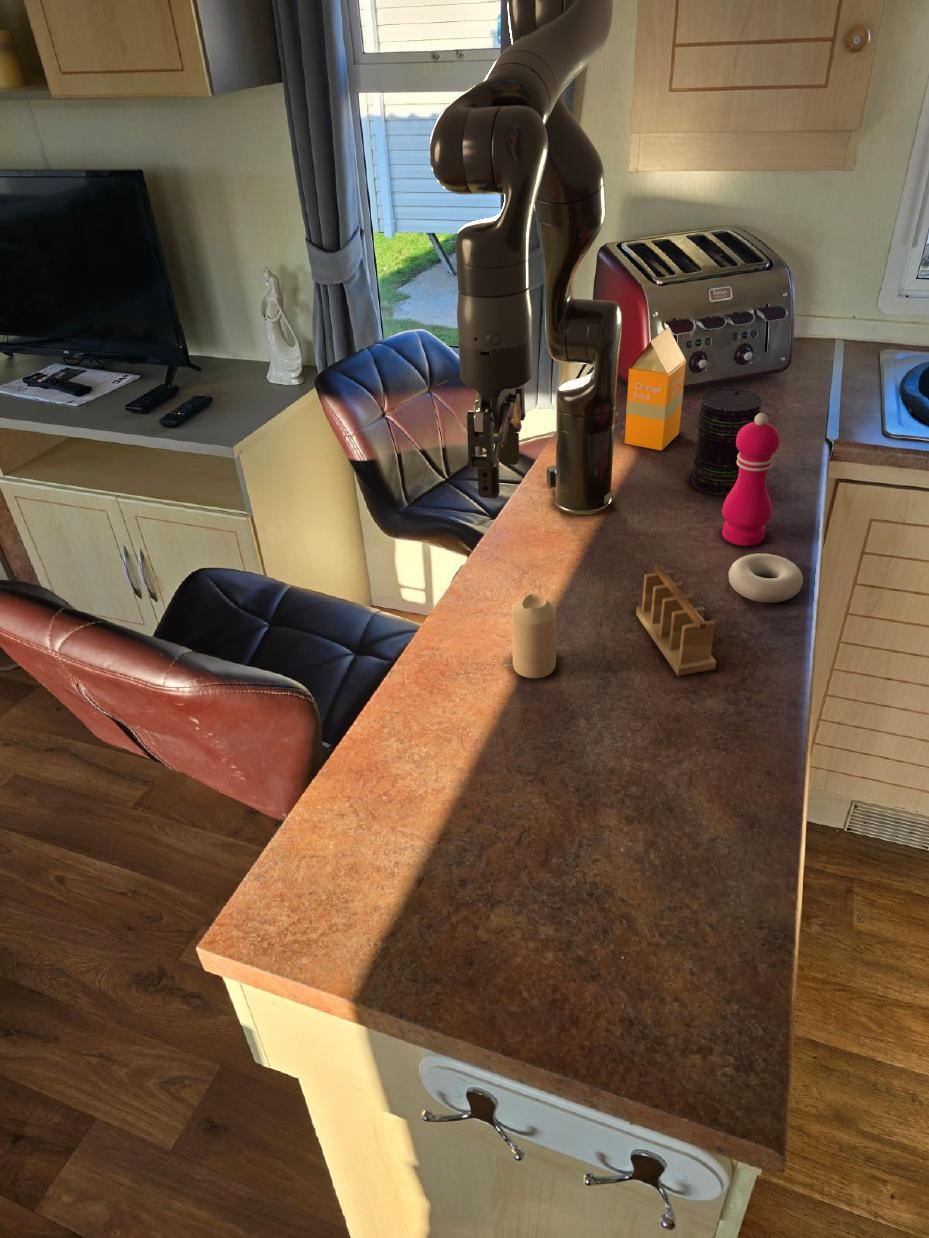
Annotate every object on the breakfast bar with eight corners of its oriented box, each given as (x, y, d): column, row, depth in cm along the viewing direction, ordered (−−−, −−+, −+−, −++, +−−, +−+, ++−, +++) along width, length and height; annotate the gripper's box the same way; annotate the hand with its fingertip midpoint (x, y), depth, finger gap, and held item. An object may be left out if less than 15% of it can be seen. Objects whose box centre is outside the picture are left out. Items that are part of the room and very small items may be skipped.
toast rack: (635, 614, 117) (639, 567, 113) (670, 608, 118) (674, 562, 113) (677, 676, 106) (683, 627, 101) (715, 669, 107) (722, 620, 102)
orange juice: (679, 433, 165) (689, 329, 154) (662, 450, 159) (671, 343, 148) (641, 426, 169) (649, 324, 157) (623, 443, 163) (629, 338, 151)
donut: (799, 613, 115) (801, 573, 123) (804, 592, 113) (806, 553, 121) (723, 602, 118) (730, 564, 126) (726, 582, 116) (733, 544, 124)
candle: (510, 654, 111) (508, 590, 105) (552, 650, 111) (552, 586, 106) (515, 680, 107) (514, 615, 101) (559, 676, 107) (560, 611, 101)
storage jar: (739, 499, 142) (752, 414, 133) (682, 488, 147) (691, 404, 138) (757, 476, 149) (770, 393, 140) (702, 465, 153) (712, 384, 145)
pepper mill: (769, 549, 129) (791, 424, 117) (719, 546, 130) (736, 422, 119) (765, 525, 135) (786, 404, 123) (718, 523, 136) (734, 403, 124)
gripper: (479, 313, 93) (485, 451, 102) (437, 355, 82) (448, 505, 91) (546, 315, 91) (546, 456, 100) (512, 359, 80) (515, 512, 89)
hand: (499, 479), depth 96 cm, fingers open, 8 cm apart
